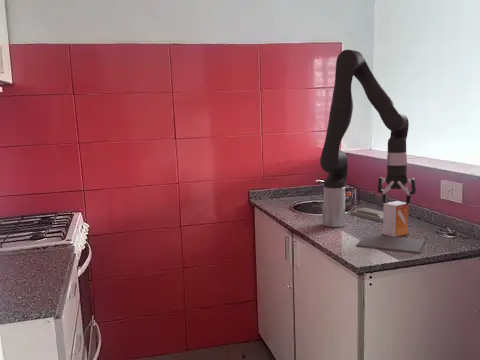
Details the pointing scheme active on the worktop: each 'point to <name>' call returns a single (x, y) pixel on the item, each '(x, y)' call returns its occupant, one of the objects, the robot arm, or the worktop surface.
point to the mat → (391, 243)
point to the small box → (395, 218)
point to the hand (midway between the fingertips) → (396, 203)
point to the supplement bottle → (347, 198)
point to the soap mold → (369, 214)
